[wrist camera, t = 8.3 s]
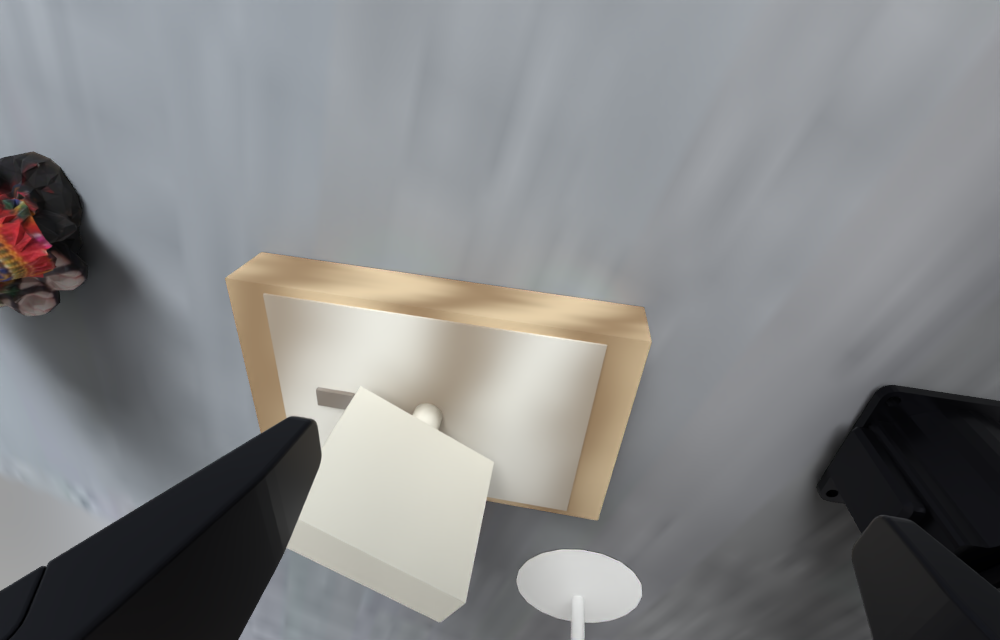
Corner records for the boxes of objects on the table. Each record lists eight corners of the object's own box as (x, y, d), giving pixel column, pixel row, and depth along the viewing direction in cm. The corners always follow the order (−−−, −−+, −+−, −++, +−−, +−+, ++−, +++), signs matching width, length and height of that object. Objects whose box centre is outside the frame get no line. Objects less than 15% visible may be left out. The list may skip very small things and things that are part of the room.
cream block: (373, 365, 20) (283, 511, 14) (498, 438, 21) (465, 602, 15) (321, 446, 22) (228, 594, 17) (433, 506, 24) (384, 666, 18)
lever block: (644, 307, 20) (652, 346, 17) (596, 477, 25) (598, 526, 22) (261, 252, 21) (220, 281, 18) (293, 425, 26) (264, 466, 24)
